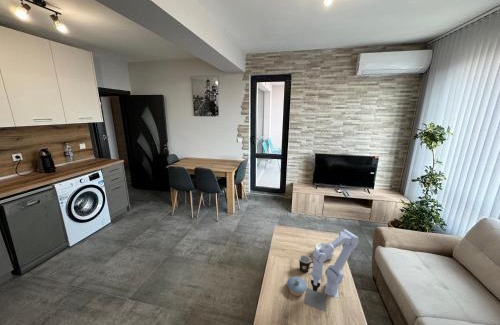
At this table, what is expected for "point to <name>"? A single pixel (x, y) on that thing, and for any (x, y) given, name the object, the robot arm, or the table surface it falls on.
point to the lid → (296, 285)
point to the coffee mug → (304, 263)
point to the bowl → (296, 293)
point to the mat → (316, 299)
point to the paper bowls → (322, 246)
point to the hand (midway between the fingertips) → (315, 286)
